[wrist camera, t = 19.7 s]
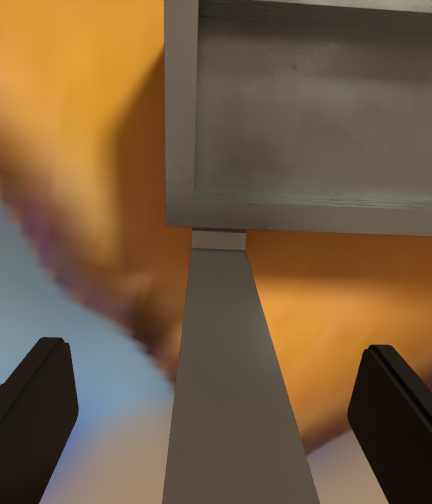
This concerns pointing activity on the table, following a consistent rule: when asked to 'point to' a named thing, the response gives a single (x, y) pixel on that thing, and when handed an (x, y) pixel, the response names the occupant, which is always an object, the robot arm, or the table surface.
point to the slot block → (299, 115)
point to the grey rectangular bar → (230, 391)
